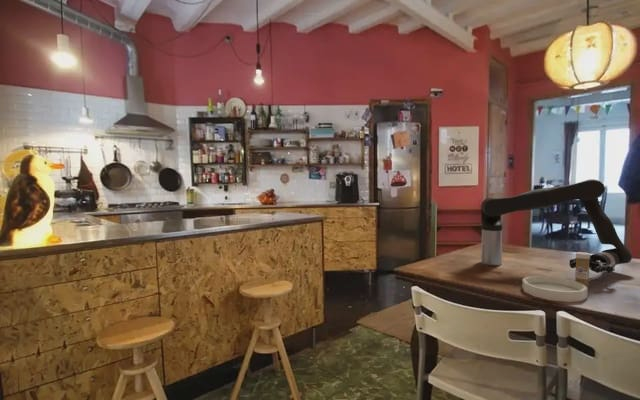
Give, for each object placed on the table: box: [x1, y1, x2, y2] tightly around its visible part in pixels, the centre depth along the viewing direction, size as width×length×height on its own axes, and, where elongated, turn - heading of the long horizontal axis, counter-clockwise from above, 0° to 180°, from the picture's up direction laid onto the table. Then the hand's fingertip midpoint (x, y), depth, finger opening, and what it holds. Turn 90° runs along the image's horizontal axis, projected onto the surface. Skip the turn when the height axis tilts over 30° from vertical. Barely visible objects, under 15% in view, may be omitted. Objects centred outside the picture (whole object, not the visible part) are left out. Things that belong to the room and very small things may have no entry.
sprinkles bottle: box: [574, 251, 591, 288], centre depth 142 cm, size 5×5×13 cm
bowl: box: [521, 275, 589, 303], centre depth 136 cm, size 20×20×4 cm
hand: (583, 267), depth 143 cm, fingers open, 8 cm apart
